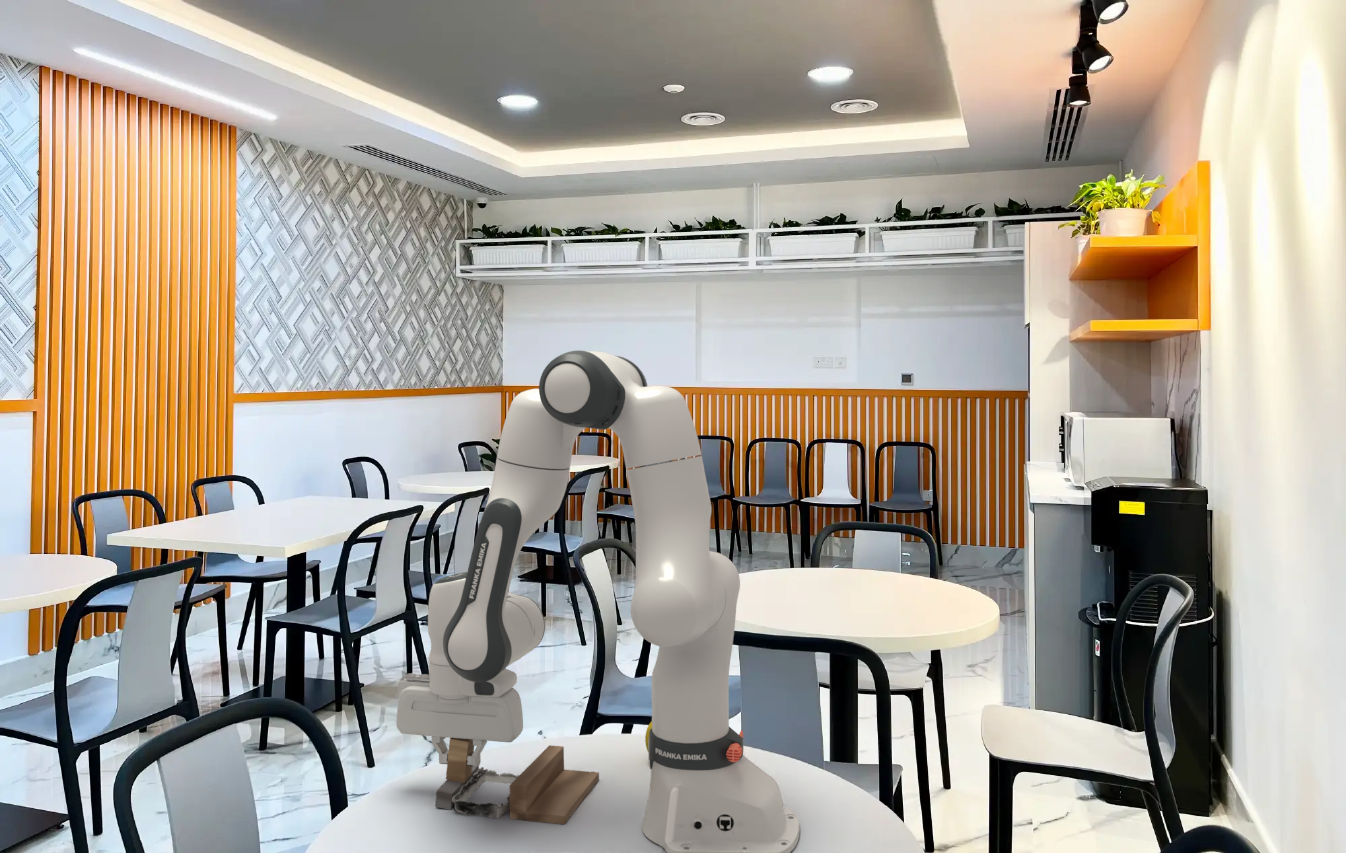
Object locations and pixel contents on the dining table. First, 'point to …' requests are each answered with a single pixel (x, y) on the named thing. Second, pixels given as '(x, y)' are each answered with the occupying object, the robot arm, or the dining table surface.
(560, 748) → the stop bar
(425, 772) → the dining table surface
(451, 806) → the oak pusher
